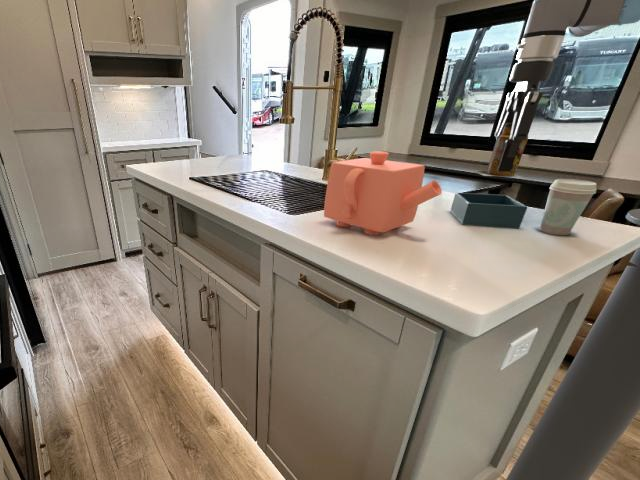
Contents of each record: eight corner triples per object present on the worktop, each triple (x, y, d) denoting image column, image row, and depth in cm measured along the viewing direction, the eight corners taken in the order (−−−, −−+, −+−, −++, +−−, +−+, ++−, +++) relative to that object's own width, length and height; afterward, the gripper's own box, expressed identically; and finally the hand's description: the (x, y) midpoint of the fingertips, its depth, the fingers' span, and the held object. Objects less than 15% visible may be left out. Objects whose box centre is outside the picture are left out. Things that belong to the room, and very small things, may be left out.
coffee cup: (524, 227, 92) (543, 178, 86) (552, 225, 93) (572, 177, 88) (555, 238, 85) (578, 186, 79) (585, 236, 86) (610, 184, 80)
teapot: (449, 231, 89) (471, 154, 80) (402, 252, 76) (423, 164, 68) (361, 211, 106) (372, 145, 97) (311, 225, 93) (319, 151, 84)
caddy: (500, 215, 102) (507, 195, 100) (519, 228, 91) (527, 206, 88) (449, 211, 105) (455, 192, 103) (461, 224, 94) (468, 203, 91)
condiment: (521, 177, 89) (541, 124, 83) (483, 176, 90) (500, 123, 84) (508, 172, 95) (526, 122, 89) (473, 171, 96) (488, 122, 91)
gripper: (500, 65, 90) (471, 163, 101) (534, 57, 73) (495, 174, 85) (535, 64, 88) (501, 164, 99) (577, 56, 72) (531, 176, 83)
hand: (498, 168), depth 92 cm, fingers closed on condiment, 6 cm apart
